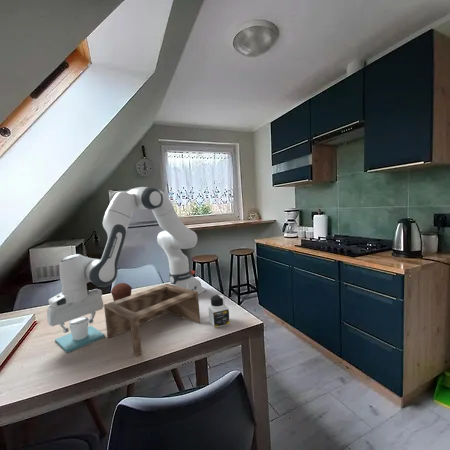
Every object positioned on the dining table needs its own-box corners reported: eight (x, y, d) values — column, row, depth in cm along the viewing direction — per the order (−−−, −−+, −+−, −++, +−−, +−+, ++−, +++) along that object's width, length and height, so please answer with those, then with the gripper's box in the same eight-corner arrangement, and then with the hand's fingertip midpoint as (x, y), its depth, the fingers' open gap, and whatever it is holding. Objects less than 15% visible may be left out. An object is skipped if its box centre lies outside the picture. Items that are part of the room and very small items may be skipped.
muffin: (112, 299, 150) (110, 282, 149) (132, 295, 154) (130, 279, 153) (111, 306, 139) (110, 288, 138) (133, 302, 143) (131, 284, 142)
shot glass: (75, 342, 100) (73, 325, 99) (67, 338, 104) (65, 321, 103) (92, 334, 105) (91, 318, 105) (84, 330, 109) (83, 315, 109)
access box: (168, 310, 128) (166, 283, 127) (200, 322, 113) (197, 291, 111) (107, 337, 105) (104, 304, 103) (136, 356, 89) (132, 318, 88)
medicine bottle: (214, 328, 106) (212, 300, 105) (209, 321, 113) (207, 295, 112) (229, 324, 109) (228, 297, 108) (223, 317, 116) (222, 292, 115)
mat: (91, 327, 114) (90, 325, 114) (104, 336, 105) (104, 334, 105) (55, 341, 104) (55, 339, 104) (66, 352, 95) (66, 350, 95)
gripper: (98, 286, 113) (101, 316, 114) (43, 301, 98) (47, 335, 99) (104, 288, 109) (107, 319, 110) (48, 304, 93) (52, 340, 95)
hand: (78, 327), depth 104 cm, fingers open, 8 cm apart
